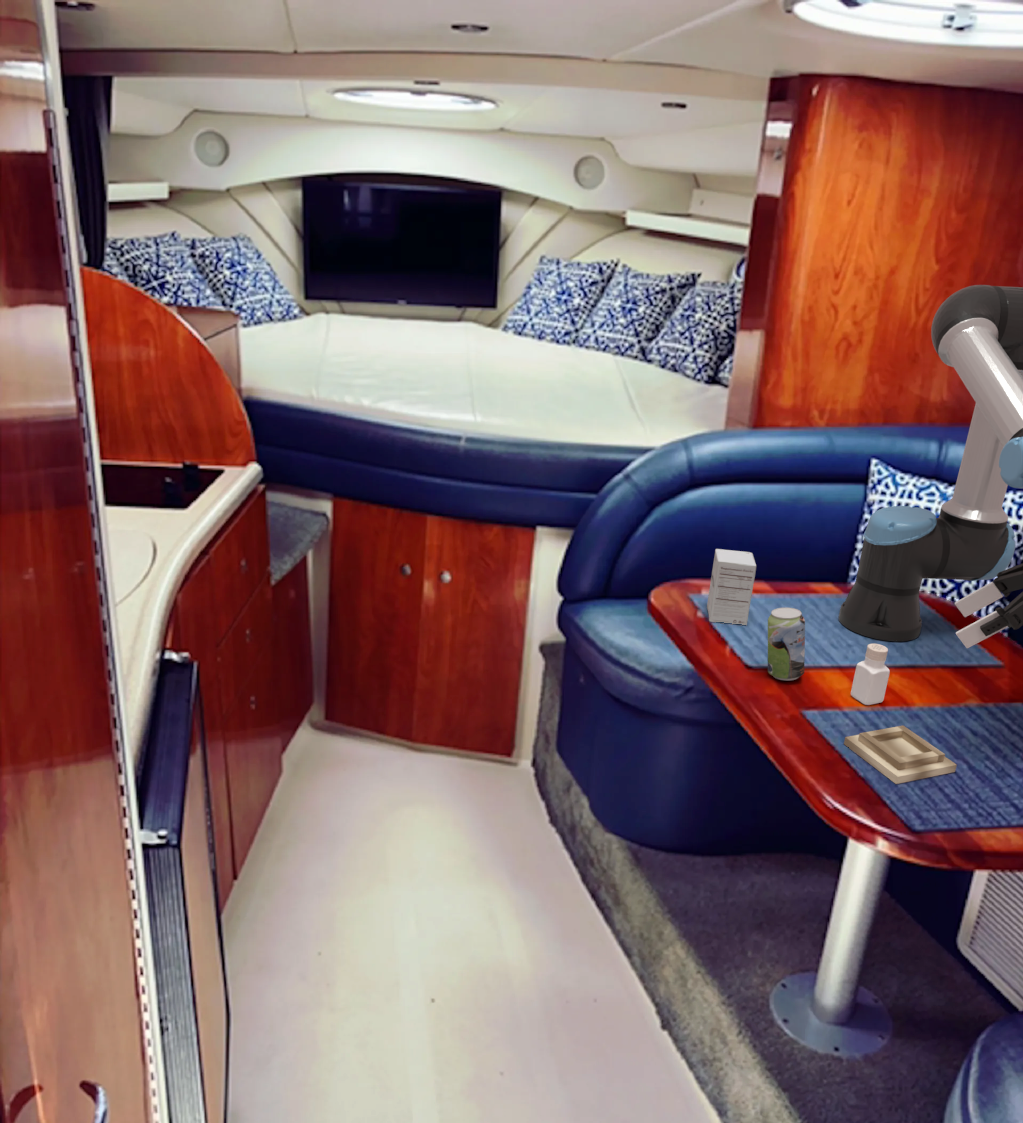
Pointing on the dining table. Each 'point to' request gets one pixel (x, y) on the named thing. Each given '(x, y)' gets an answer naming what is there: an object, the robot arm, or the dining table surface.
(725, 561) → the supplement box
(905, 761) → the tray
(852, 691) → the pepper shaker
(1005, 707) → the dining table surface
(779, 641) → the beverage can
